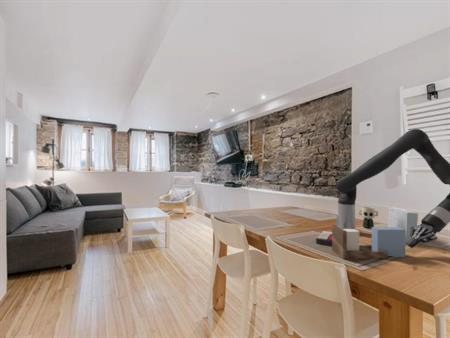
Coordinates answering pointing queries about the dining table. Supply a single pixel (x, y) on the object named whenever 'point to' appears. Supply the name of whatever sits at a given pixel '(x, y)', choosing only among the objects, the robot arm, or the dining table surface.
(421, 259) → the dining table surface
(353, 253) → the book rack
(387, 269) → the dining table surface
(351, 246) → the shelved book
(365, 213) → the character mug
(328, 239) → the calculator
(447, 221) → the robot arm
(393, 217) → the skincare box
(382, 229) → the loose book
